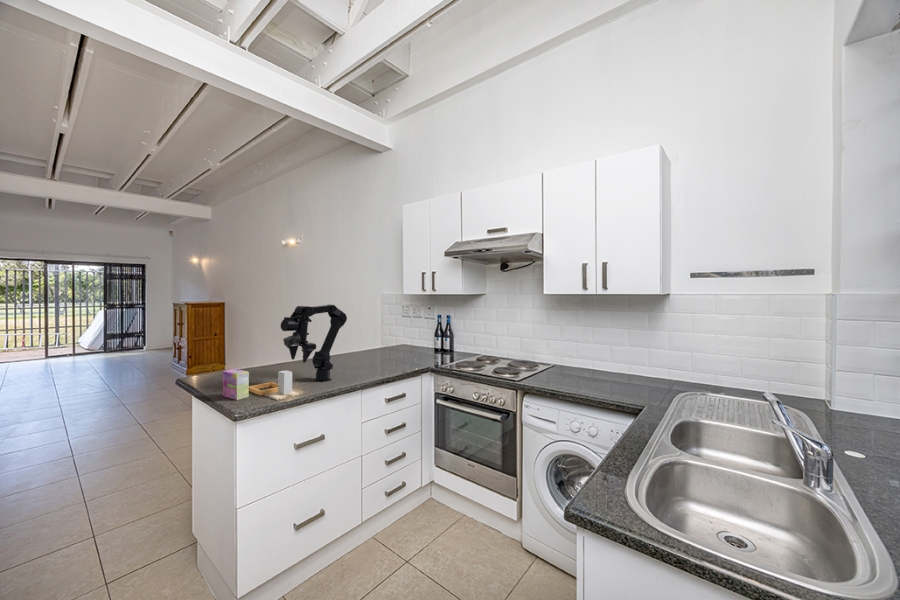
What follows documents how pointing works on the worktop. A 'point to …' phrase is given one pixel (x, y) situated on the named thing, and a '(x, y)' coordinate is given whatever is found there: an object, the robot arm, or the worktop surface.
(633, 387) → the worktop surface
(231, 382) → the box
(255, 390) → the square wooden frame
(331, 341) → the robot arm
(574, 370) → the worktop surface
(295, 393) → the board
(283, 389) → the block
